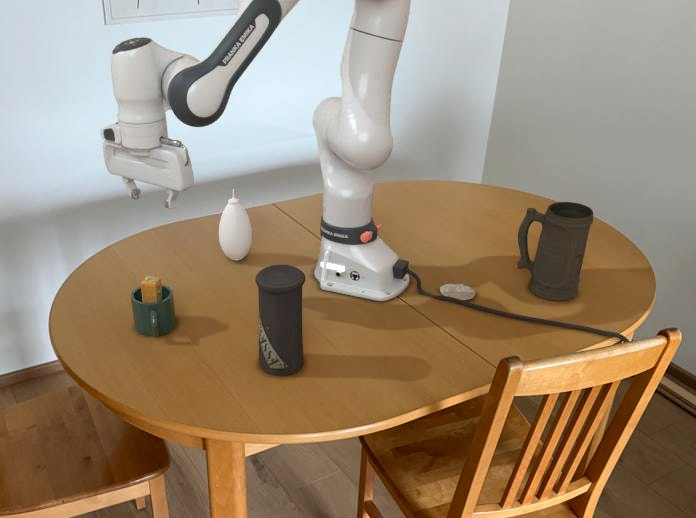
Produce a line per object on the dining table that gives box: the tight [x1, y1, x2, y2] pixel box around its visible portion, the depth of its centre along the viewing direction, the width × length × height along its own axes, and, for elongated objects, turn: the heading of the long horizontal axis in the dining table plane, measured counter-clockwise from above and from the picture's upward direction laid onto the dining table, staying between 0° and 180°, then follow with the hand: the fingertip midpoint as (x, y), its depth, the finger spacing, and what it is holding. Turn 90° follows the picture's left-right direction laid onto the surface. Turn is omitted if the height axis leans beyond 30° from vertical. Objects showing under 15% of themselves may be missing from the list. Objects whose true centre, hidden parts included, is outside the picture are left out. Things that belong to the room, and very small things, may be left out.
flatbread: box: [439, 283, 476, 301], centre depth 161 cm, size 8×8×1 cm
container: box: [254, 264, 306, 377], centre depth 132 cm, size 9×9×20 cm
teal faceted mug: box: [130, 284, 177, 339], centre depth 146 cm, size 12×8×8 cm
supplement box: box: [140, 275, 163, 303], centre depth 146 cm, size 3×3×10 cm
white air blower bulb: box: [218, 188, 253, 262], centre depth 170 cm, size 8×8×18 cm
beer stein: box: [516, 201, 594, 302], centre depth 159 cm, size 15×11×20 cm
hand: (153, 202), depth 141 cm, fingers open, 8 cm apart
